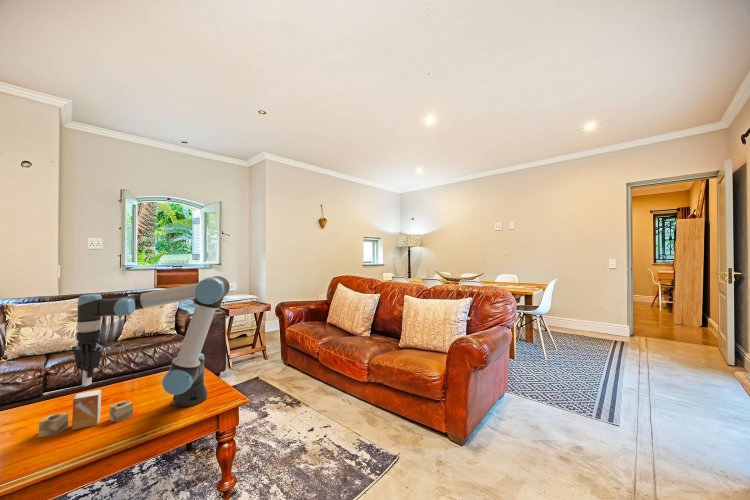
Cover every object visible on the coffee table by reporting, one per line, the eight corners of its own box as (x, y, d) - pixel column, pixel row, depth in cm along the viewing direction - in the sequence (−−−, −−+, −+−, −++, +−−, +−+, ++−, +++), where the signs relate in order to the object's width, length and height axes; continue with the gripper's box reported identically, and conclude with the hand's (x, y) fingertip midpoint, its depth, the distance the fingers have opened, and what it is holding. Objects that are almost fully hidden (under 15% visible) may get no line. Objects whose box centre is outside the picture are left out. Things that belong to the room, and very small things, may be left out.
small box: (71, 430, 125) (72, 399, 126) (75, 423, 131) (76, 393, 131) (97, 424, 130) (98, 394, 130) (100, 418, 135) (101, 389, 135)
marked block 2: (132, 416, 137) (132, 402, 137) (117, 422, 132) (117, 408, 132) (124, 413, 140) (125, 399, 140) (109, 419, 134) (109, 405, 134)
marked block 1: (68, 427, 128) (68, 412, 128) (56, 435, 122) (56, 419, 122) (51, 428, 127) (51, 413, 127) (38, 437, 121) (39, 421, 121)
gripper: (111, 328, 135) (109, 381, 134) (83, 327, 135) (81, 380, 135) (94, 332, 127) (92, 389, 126) (65, 332, 128) (63, 388, 127)
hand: (86, 384), depth 131 cm, fingers closed
